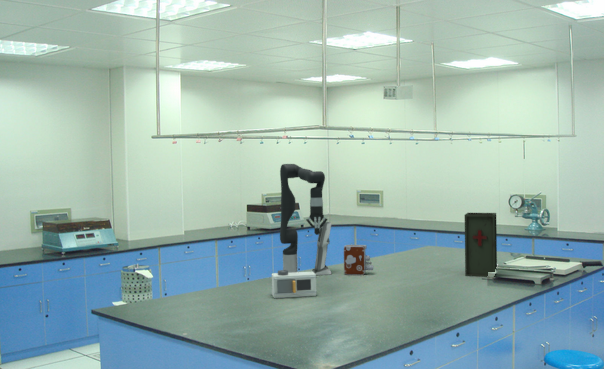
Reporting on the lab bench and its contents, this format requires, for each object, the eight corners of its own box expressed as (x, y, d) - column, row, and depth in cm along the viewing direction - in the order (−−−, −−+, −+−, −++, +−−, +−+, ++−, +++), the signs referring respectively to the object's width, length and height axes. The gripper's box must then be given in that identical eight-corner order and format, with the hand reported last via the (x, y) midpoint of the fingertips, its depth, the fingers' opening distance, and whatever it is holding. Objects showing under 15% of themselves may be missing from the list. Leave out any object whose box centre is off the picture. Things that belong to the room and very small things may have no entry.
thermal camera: (333, 274, 378) (332, 223, 378) (314, 275, 376) (313, 223, 376) (329, 271, 390) (328, 221, 389) (311, 272, 388) (310, 222, 387)
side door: (277, 292, 311) (277, 280, 311) (295, 291, 313) (294, 279, 313) (278, 294, 307) (278, 281, 306) (296, 293, 308) (296, 280, 308)
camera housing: (272, 294, 321) (271, 270, 321) (313, 292, 325) (312, 268, 325) (274, 298, 310) (273, 273, 310) (316, 296, 314) (316, 271, 314)
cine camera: (372, 275, 372) (372, 245, 371) (343, 275, 376) (343, 245, 375) (373, 273, 381) (373, 244, 380) (345, 272, 385) (344, 243, 384)
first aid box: (465, 275, 365) (464, 214, 364) (468, 271, 382) (467, 212, 381) (495, 277, 358) (494, 215, 357) (497, 272, 375) (496, 212, 374)
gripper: (326, 204, 334) (326, 233, 335) (304, 205, 332) (304, 234, 333) (328, 205, 327) (329, 234, 327) (306, 206, 325) (307, 235, 325)
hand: (317, 234), depth 330 cm, fingers closed
